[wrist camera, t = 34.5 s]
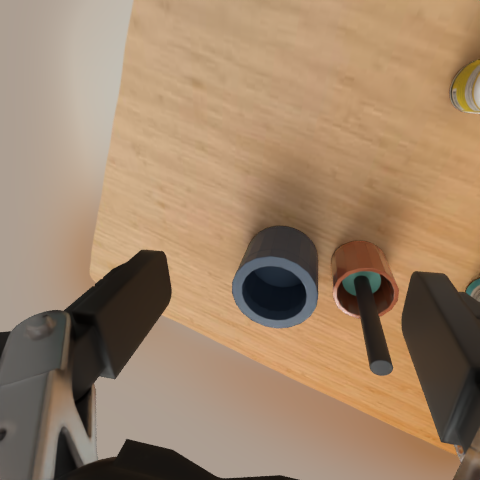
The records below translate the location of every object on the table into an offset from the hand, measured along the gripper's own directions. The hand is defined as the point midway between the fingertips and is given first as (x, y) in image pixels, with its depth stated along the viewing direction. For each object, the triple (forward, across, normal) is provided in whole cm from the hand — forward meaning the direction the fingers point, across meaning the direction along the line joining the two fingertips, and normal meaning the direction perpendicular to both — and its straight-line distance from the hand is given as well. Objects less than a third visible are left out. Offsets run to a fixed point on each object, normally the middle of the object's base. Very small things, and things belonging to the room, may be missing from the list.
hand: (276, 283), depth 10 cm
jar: (+34, +3, +18) cm, 39 cm away
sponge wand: (+33, -8, +18) cm, 39 cm away
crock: (+34, -8, +18) cm, 39 cm away
